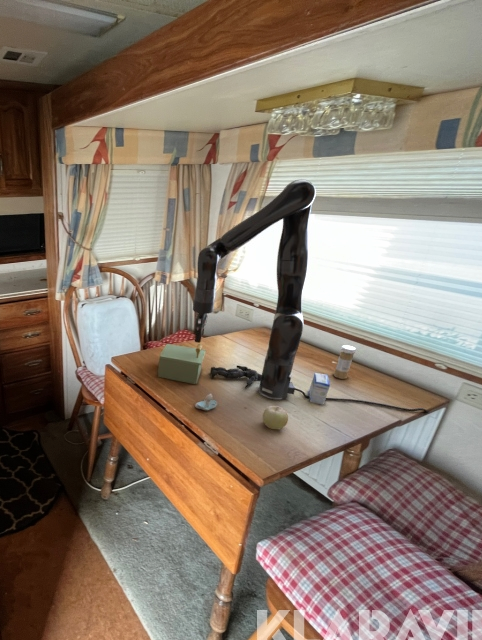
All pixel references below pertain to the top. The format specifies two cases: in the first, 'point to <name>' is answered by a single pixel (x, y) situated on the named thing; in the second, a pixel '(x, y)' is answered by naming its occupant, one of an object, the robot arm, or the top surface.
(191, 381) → the chest
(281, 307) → the robot arm
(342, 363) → the sprinkles bottle
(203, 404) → the pacifier
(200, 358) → the lid
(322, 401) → the medicine box
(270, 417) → the fruit
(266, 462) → the top surface
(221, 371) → the robot figurine
